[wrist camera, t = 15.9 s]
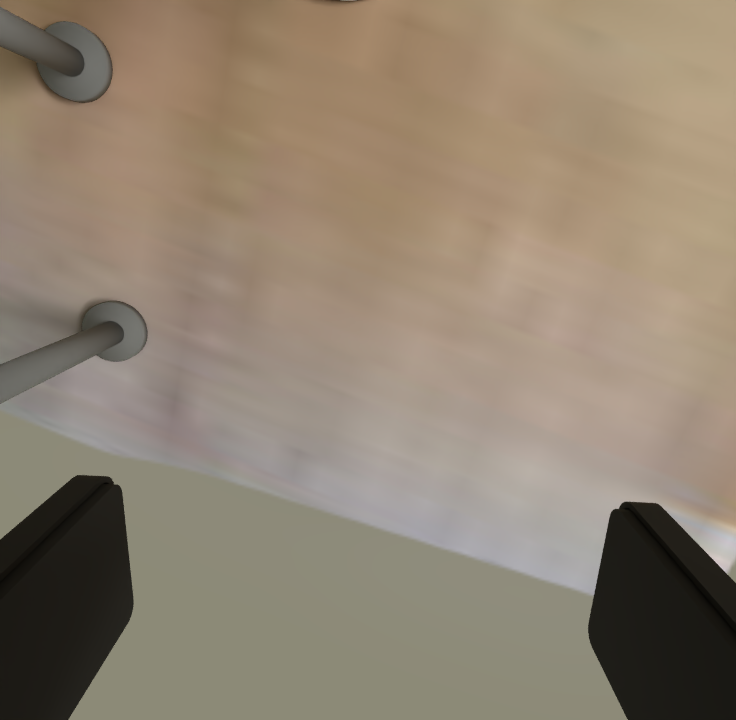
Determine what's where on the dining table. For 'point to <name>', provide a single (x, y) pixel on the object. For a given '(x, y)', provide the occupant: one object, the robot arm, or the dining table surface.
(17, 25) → the post
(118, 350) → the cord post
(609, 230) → the dining table surface
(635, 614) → the robot arm
